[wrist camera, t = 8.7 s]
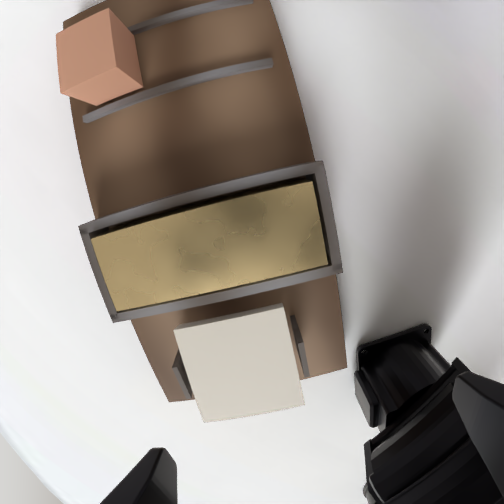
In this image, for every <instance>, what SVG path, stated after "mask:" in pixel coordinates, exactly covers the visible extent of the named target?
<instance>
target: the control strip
mask: <svg viewBox="0 0 504 504" xmlns="http://www.w3.org/2000/svg"><path fill="white" fill-rule="evenodd" d="M107 8H109V9H110V10H111V11H112V12H113V13H114V14H115V15H116V16H117V17H118V18H119V20H120V21H121V22H122V23H123V24H124V25H125V26H126V27H127V28H128V30H129V31H130V32H131V33H132V34H133V35H134V38H135V44H136V49H137V55H138V61H139V66H140V71H141V77H142V82H143V88H140V89H137V90H134V91H132V92H129V93H127V94H124V95H121V96H119V97H116V98H114V99H112V100H109V101H107V102H104V103H102V104H100V105H97V106H95V105H93V104H90V103H87V102H84V101H82V100H79V99H76V98H73V97H70V96H69V97H70V104H71V111H72V117H73V123H74V129H75V134H76V140H77V145H78V150H79V155H80V159H81V164H82V168H83V173H84V177H85V181H86V185H87V189H88V193H89V197H90V201H91V205H92V208H93V212H94V215H95V220H92V221H90V222H87V223H85V224H82V225H80V226H78V227H79V230H80V234H81V237H82V240H83V243H84V246H85V250H86V253H87V256H88V259H89V261H90V264H91V267H92V270H93V273H94V276H95V278H96V281H97V284H98V287H99V289H100V292H101V294H102V297H103V299H104V302H105V304H106V307H107V309H108V312H109V314H110V317H111V319H112V321H113V323H115V322H120V321H126V320H131V322H132V324H133V327H134V329H135V331H136V334H137V336H138V338H139V340H140V343H141V345H142V347H143V349H144V352H145V354H146V356H147V358H148V360H149V362H150V365H151V367H152V369H153V371H154V373H155V375H156V377H157V379H158V381H159V383H160V385H161V387H162V389H163V391H164V393H165V395H166V397H167V399H168V401H169V402H176V401H185V400H193V399H195V397H194V394H193V391H192V388H191V385H190V382H189V379H188V376H187V373H186V370H185V367H184V364H183V360H182V357H181V354H180V351H179V348H178V344H177V341H176V337H175V334H174V331H173V330H174V329H175V328H176V327H177V326H178V325H180V324H185V323H190V322H195V321H200V320H205V319H210V318H215V317H220V316H225V315H230V314H234V313H239V312H243V311H248V310H252V309H257V308H261V307H266V306H270V305H274V304H279V303H282V304H283V307H284V311H285V315H286V320H287V324H288V329H289V333H290V338H291V342H292V347H293V351H294V356H295V360H296V365H297V370H298V374H299V379H300V380H303V379H307V378H311V377H315V376H319V375H322V374H326V373H330V372H334V371H337V370H341V369H344V368H347V360H346V350H345V340H344V331H343V323H342V315H341V307H340V299H339V292H338V285H337V278H336V274H339V273H343V270H342V263H341V256H340V250H339V243H338V237H337V231H336V225H335V220H334V214H333V209H332V203H331V198H330V193H329V188H328V183H327V178H326V173H325V169H324V164H323V161H315V159H314V155H313V150H312V146H311V142H310V138H309V133H308V129H307V125H306V121H305V117H304V113H303V109H302V106H301V102H300V98H299V94H298V91H297V87H296V83H295V80H294V76H293V73H292V69H291V66H290V62H289V59H288V56H287V52H286V49H285V46H284V43H283V39H282V36H281V33H280V30H279V27H278V24H277V21H276V18H275V15H274V12H273V9H272V6H271V3H270V1H269V0H106V1H104V2H102V3H99V4H97V5H95V6H93V7H91V8H89V9H87V10H85V11H83V12H81V13H79V14H77V15H75V16H73V17H71V18H69V19H67V20H66V21H64V22H63V30H64V29H66V28H68V27H70V26H72V25H74V24H76V23H77V22H79V21H81V20H83V19H85V18H87V17H89V16H92V15H94V14H96V13H98V12H100V11H102V10H105V9H107ZM301 179H304V180H309V181H312V182H313V187H314V192H315V197H316V201H317V206H318V212H319V217H320V222H321V227H322V233H323V238H324V244H325V250H326V256H327V261H328V264H327V265H323V266H319V267H315V268H311V269H307V270H302V271H298V272H294V273H290V274H286V275H282V276H277V277H273V278H269V279H265V280H260V281H256V282H252V283H247V284H243V285H239V286H234V287H230V288H225V289H221V290H216V291H212V292H207V293H203V294H198V295H194V296H189V297H184V298H180V299H175V300H170V301H165V302H161V303H156V304H151V305H146V306H141V307H136V308H131V309H126V310H121V311H116V308H115V306H114V303H113V301H112V298H111V296H110V293H109V291H108V288H107V285H106V283H105V280H104V277H103V274H102V271H101V269H100V266H99V263H98V260H97V257H96V254H95V251H94V248H93V245H92V242H91V239H92V238H94V237H96V236H98V235H99V234H101V233H103V232H105V231H107V230H109V229H112V228H115V227H118V226H122V225H125V224H128V223H132V222H135V221H138V220H142V219H145V218H149V217H152V216H156V215H159V214H163V213H166V212H170V211H173V210H177V209H181V208H184V207H188V206H192V205H196V204H199V203H203V202H207V201H211V200H215V199H219V198H223V197H227V196H231V195H235V194H239V193H243V192H247V191H252V190H256V189H260V188H264V187H269V186H273V185H278V184H282V183H287V182H291V181H296V180H301Z"/></svg>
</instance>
